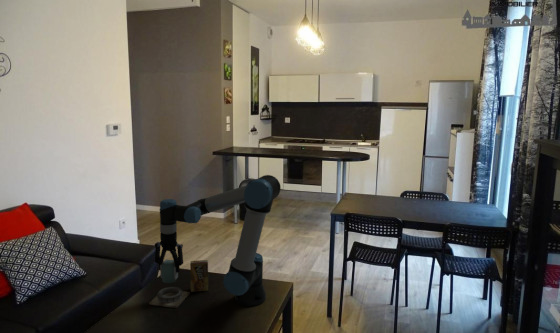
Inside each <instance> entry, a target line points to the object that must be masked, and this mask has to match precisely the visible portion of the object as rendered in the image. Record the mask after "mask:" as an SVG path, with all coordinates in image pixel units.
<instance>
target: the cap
mask: <svg viewBox="0 0 560 333" xmlns="http://www.w3.org/2000/svg"><path fill="white" fill-rule="evenodd" d="M174 266H175V263H174V260H173V259H164V260H163V262H162V278H161V279H162V280H161V281H162V283H164V284H172V283H175V282H176V281H177V279H176V280H174Z"/></svg>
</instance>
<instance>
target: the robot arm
mask: <svg viewBox="0 0 560 333" xmlns="http://www.w3.org/2000/svg"><path fill="white" fill-rule="evenodd" d="M280 192H281V183H280V181H279V180H278V178H277V177H275V176H273V175H269V174H265V175H262V176H260V177H257V178H254V179H253V180H251V181H250V182H249V183H248V184H246V185H243V186H240V187H237V188H233V189H230V190H227V191H223V192H221V193H217V194H214V195H210V196H209V197H206V198H205V197H204V198H200V199H198V200H196V201H194V202H192V203H190V204H187V205H180V204H178V203H177V200H176V199H173V198H167V199H162V200H160V203H159V220H160V221H159V222H160V223H159V227H160V228H159V231H160V233H159V236H160V241H157V242H155V243H154V247H155V249H154V250H155V252H154V263H155V264H158V271H159V274H160V278H161V279H162V262H163V261H165V256H166V253H167V251H168V252H169V253H170V254H171V256H172V260H174V263H175V266H174V280H176V281H177V280H178V278H179V272H180V266H182V265H183V264H184V254H183V247H184V245H183V243H182V244H180V243H178V242H177V238H178V229H177V226H178V225H177V224H178V223H179V222H180V223H187V224H197V223H199V221H200V220H201V219H202V218H201V217H202V216H204V215H207V214H210V213H213V212H217V211H221V210H223V209H226V208H231V207H233V206H237V205H241V204H244V205H243V206H244V207H245V209H246V213H245V216H244V220H243V225H242V229H241V232H240V237H239V242H238V245H237V249H236V253H235V257H234V258H232V259H231V261H230V264H229V267H228V271H227V273H225V275H224V277H223V281H222V282H223V286H224V288H225V289H226V291H227V292H228V293H229V294H231V295H233V296H234V300H235V302H236V303H237V304H238V305H241V306H246V307H254V306H259V305H261V304H263V303H264V302H265V301H266V300H267V299H266V298H267V296H266V295H267V294H266V291H265V288H264V285H263V277H264V276H263V274H264V272H263V269H264V266H263V264H264V258H263V255H262V254H260V253H257V252H258V248H259V243H260V240H261V235H262V231H263V227H264V223H265V220H266V219H265V218H266V215H268V214H269V213H271V210H272V205H273V202H274V200H275V199H277V197H278V196H279V195H280ZM177 222H178V223H177Z"/></svg>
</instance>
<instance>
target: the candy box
mask: <svg viewBox="0 0 560 333" xmlns="http://www.w3.org/2000/svg"><path fill="white" fill-rule="evenodd" d="M208 291H209V259H204V260H203V259H202V260H199V259H198V260H190V293H193V292H208Z"/></svg>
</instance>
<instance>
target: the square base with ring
mask: <svg viewBox="0 0 560 333" xmlns="http://www.w3.org/2000/svg"><path fill="white" fill-rule="evenodd" d="M190 293H191V291H183V290H182V288H180V287H178V286H177V287H176V286H169V287H164V288H162V289H159V291H158V292H157V295H156V296H155V297H153V299H152V300H151V301H149V303H148V304H149V305H150V306H151V305H152V306H159V307H166V308H174V309H177V308H179V306H181V304H182V303H183V302H184V301H185V298H187V297H188V296H189V295H190Z"/></svg>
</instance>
